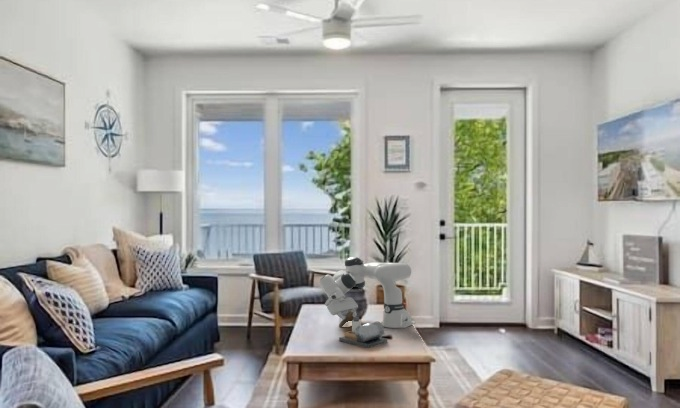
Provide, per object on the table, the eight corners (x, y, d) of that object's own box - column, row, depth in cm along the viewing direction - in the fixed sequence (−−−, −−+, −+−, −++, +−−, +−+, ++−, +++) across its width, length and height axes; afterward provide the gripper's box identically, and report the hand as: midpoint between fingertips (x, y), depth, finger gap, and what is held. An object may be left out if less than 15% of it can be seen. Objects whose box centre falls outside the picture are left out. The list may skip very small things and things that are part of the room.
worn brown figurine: (356, 328, 368) (361, 300, 368) (357, 330, 362) (363, 302, 363) (338, 325, 366) (343, 297, 366) (339, 327, 360) (345, 299, 361)
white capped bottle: (356, 335, 333) (356, 316, 333) (362, 336, 330) (362, 317, 329) (350, 336, 330) (350, 317, 329) (356, 338, 326) (356, 318, 326)
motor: (360, 335, 341) (360, 316, 341) (389, 341, 326) (389, 322, 325) (339, 341, 328) (338, 321, 328) (368, 348, 313) (368, 327, 313)
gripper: (347, 299, 347) (359, 317, 341) (322, 304, 333) (334, 324, 326) (352, 292, 344) (365, 311, 338) (328, 297, 329) (340, 317, 323)
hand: (350, 317), depth 332 cm, fingers open, 8 cm apart
